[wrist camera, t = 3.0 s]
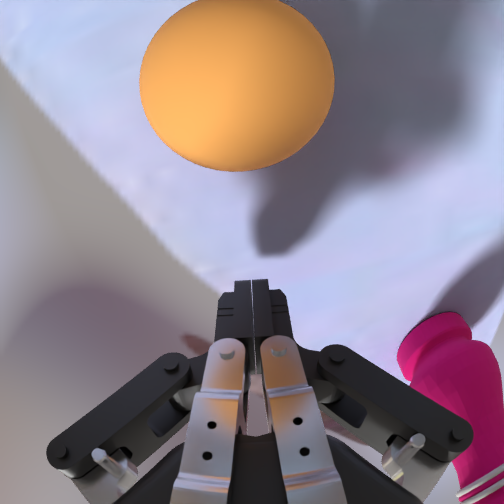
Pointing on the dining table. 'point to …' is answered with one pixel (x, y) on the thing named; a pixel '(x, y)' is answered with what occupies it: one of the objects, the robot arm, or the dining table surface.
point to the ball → (236, 83)
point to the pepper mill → (462, 397)
